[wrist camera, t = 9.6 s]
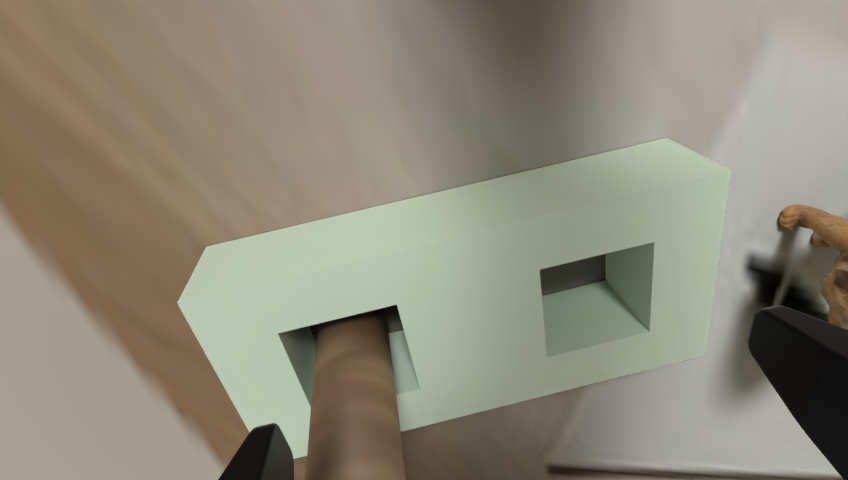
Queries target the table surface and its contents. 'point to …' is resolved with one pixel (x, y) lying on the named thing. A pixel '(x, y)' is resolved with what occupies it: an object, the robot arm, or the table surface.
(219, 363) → the hole block
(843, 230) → the lion figurine
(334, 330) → the peg
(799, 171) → the table surface
